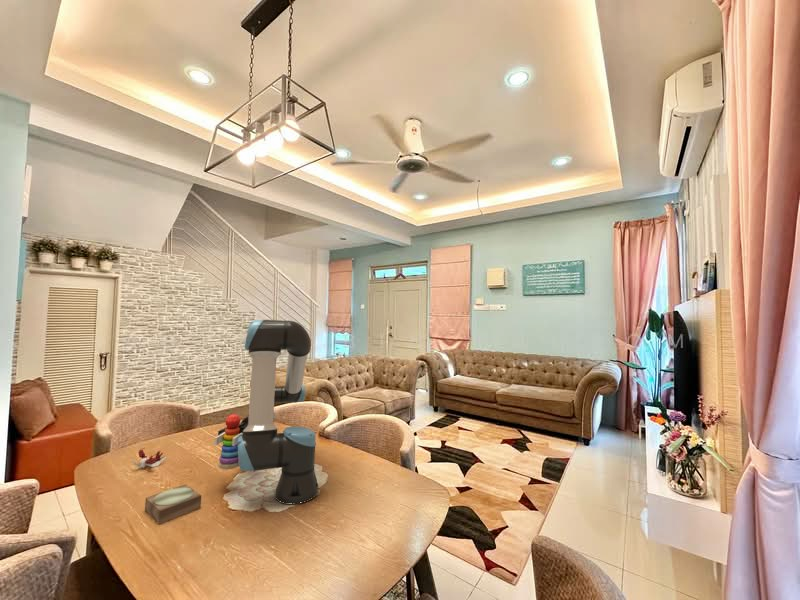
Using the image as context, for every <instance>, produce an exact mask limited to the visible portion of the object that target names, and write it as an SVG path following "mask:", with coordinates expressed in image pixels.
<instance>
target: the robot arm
mask: <svg viewBox="0 0 800 600" xmlns="http://www.w3.org/2000/svg"><path fill="white" fill-rule="evenodd" d="M247 328H248V329H247V333H246V337H245V342H244V349H245V350H246V351H248V356H249V357H250V358H252V359H251V376H250V377H251V378H250V390H249V391H250V393H249V403H248V404H249V405H248V406H249V407H248V415H249V416H248V415H247V416H246V417H245V418H243V419H241V421H240V424H239V425H238V426H237V427H239V428H240V431H239V432H238V433H239V434H238V435H237V436H235V437H234V438H233V441H232V446H235V445H236V444H238V460H239V466H238V467H239V469H240V471H242V472H256V471H262V470H270V469H271V470H272V469H273V470H274V469H280V468H281V474H280V477H279V480H278V482H277V486H276V488H275V492H274V497H276V498H277V499H278V500H279V501H281V502H284V503H292V504H291V505H294V504H293V503H300V502H304V501H307V500H309V499H311V498H313V497H314V496H315V495H316V494H317V493H318V494H319V483H318V480H317V475H316V473H315V460H316V445H317V440H316V433H315V431H314V430H313V429H311V428H309V427H304V426H297V425H296V426H289V427H285V428H284V429H283V432H278V427H277V426H276V425H275V424H273V418H274V419H275V404H281V403H282V404H283V403H300V402H304V401H305V398H306V387H305V385H303V382H304V375H305V369H306V363H307V358H308V357H307V356H308V355H309V353H310V352H311V350H312V349H311V347H312V341H311V337H310V335H309V332H308V331H307V330H306V328H305V327H304V326H303V325H302V324H300V323H299V322H296V321H294V320H278V319H253V320H252V321H250V323H249V325H248V327H247ZM281 351H287V353H288V357H287V366H286V367H287V368H286V373H285V374H286V377H285V385H283V386H282V385H281V386H280V385H279V386H276V373H277V372H276V371H277V359H278V358H279V357H280V356H281V355H282V354H281V353H282V352H281ZM226 428H228V427H227V426H226V427H224V428H222V429H220V430H218V432H217V436H215V437H214V441H213V443H214V446H218V445H219V444H221V443H223V440H224V435H225V434H226V433H225V430H226ZM318 494H317V495H318ZM276 498H275V499H276ZM313 499H314V498H313ZM279 501H278V502H279ZM281 502H280V503H281ZM307 502H308V501H307ZM284 503H283V504H284ZM300 504H301V503H300Z"/></svg>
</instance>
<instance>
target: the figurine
mask: <svg viewBox="0 0 800 600" xmlns="http://www.w3.org/2000/svg"><path fill="white" fill-rule="evenodd" d="M144 450H145V447H142V448H141V449H139V450H138V456H139V457H138V458H141V460H140V462H139V463H137V462H136V461H134V460H133V462H132V463H133V464H134V465H135V466H136V468H138V469H139V468H142V469H144V468H145V467H146V466H148V467H150V468H157V467H156V466H158V467H159V466H160V465H161V463H162V462H163V461H164V460H165V459H167V456H166V455H164V456H162V455H163V453H164V452H161V450H158V451H157V452H156V454H153V455H150V456H149V457H148V456H147V455H146V453H145V451H144ZM154 456H155V457H154Z"/></svg>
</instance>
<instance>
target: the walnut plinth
mask: <svg viewBox="0 0 800 600" xmlns="http://www.w3.org/2000/svg"><path fill="white" fill-rule="evenodd" d="M201 505H202V495H201V494H200V493H198V491H196V490H194V489H193V488H191V487H190V486H189V485H188V484H183V485H180V486H177V487H174V488H172V489H171V488H170V489H168V490H164V491H162V492H160V493H156V494H154V495H150V496H147V497H145V502H144V511H145V512H146V514H148V515H149V516H150V517H151V518H152V519H153V520H154V521H155V520H156V521H157V522H158V523H159V524H158V523H157V522H156V521H155V522H156V523H157V524H158V525H161V524H163V523H162V522H164V523H166V522H169V521H171V520H174V519H177V518H179V517H181V516H184V515H186V514H189V513H191V512H193V510H194V511H196V510H198V508H199V509H201V508H202V507H201ZM188 512H189V513H188ZM168 520H169V521H168ZM165 521H166V522H165Z"/></svg>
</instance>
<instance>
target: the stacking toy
mask: <svg viewBox="0 0 800 600" xmlns="http://www.w3.org/2000/svg"><path fill="white" fill-rule="evenodd" d="M240 423H241V417H240V416H239V415H238V414H233V413H232V414H230V415H229V416H228V417H226V419H225V425H226V427H228V428H226V427H225V428H226V430H225V433H226V434H225V435H224V440H223V442H222V445H221V452H220V457H219V458H218V459H219V460H218V461H219V462H218V464H217V466H218V468H219V469H221V470H233V469H236V468H238V467H239V460H238V444H236V445H235V446H232V441H233V438H234V437H235V436H237V435H238V434H239V433H238V432H239V431H240V428H239V427H237V426H238V425H239V424H240Z"/></svg>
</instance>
